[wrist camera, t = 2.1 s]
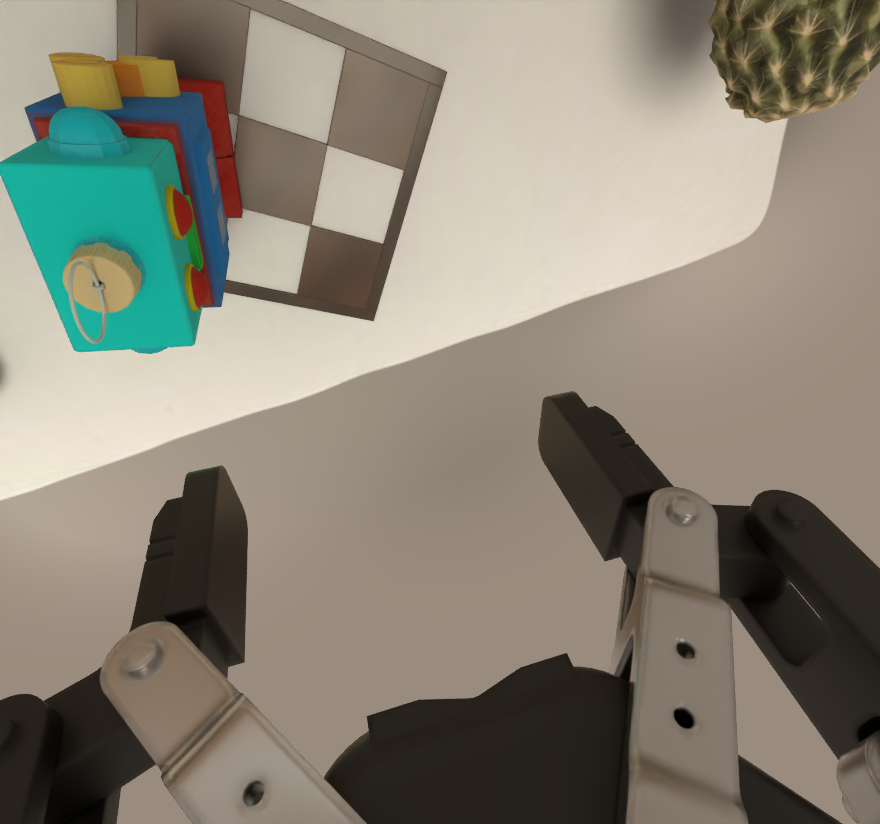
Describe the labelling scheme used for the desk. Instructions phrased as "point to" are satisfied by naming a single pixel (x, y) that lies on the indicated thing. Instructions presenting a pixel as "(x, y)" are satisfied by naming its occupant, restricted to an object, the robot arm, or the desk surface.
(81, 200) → the toy robot
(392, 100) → the chessboard
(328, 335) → the desk surface
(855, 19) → the potted plant
